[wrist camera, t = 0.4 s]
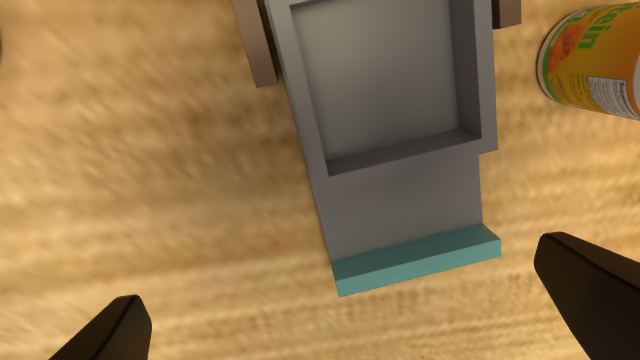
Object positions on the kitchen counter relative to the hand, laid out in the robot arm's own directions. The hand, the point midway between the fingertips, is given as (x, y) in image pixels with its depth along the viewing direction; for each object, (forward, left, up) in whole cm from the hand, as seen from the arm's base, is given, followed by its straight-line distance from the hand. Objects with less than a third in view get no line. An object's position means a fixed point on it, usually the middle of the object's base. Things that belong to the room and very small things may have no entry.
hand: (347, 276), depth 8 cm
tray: (-1, -5, -14) cm, 15 cm away
